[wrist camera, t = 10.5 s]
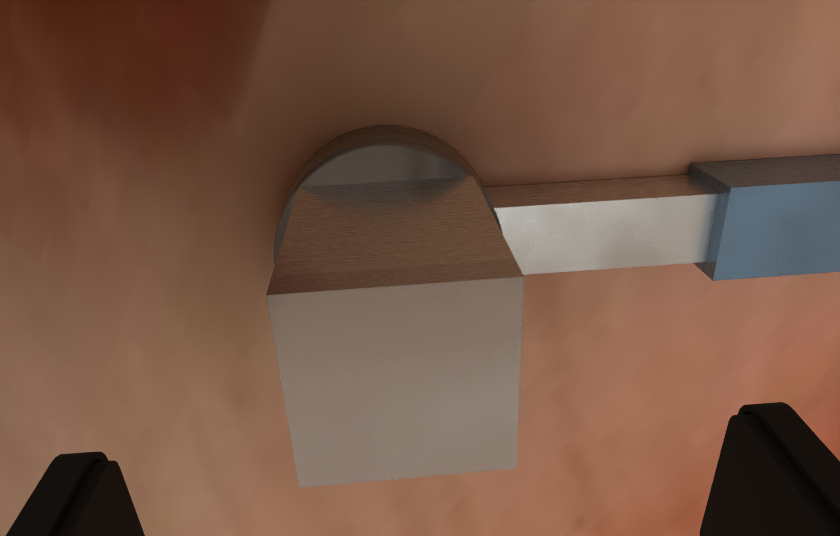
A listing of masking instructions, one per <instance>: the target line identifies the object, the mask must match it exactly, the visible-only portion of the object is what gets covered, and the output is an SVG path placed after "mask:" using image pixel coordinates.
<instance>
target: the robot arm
mask: <svg viewBox="0 0 840 536" xmlns="http://www.w3.org/2000/svg"><path fill="white" fill-rule="evenodd" d="M6 536H145V535H144V532H143V530H142V527H141V524H140V521H139V519H138V516H137V513H136V510H135V508H134V505H133V502H132V500H131V497H130V494H129V491H128V489H127V486H126V483H125V480H124V478H123V475H122V472H121V469H120V467H119V465H118V463H117V462H116V461H108V459H107V457H106V455H105V454H104V453H102V452H87V453H73V454H60V455H59V456H57V457H55V459H54V460H53V461H52V462H51V464H50V465H49V467H48V469H47V470H46V472H45V473H44V475H43V477H42V478H41V480H40V481H39V483H38V485H37V486H36V488H35V490H34V491H33V493H32V494H31V496H30V498H29V499H28V501H27V502H26V504H25V506H24V507H23V509H22V510H21V512H20V514H19V515H18V517H17V519H16V520H15V522H14V523H13V525H12V527H11V528H10V530H9V531H8V533H7V535H6ZM700 536H840V461H839V460H838V459H837V458H836V457H835V456H834V455H833V454H832V452H831V451H830V450H829V449H828V448H827V447H826V446H825V445H824V443H823V442H822V441H821V440H820V439H819V438H818V437H817V436H816V434H815V433H814V432H813V431H812V430H811V429H810V428H809V427H808V426H807V424H806V423H805V422H804V421H803V420H802V419H801V418H800V417H799V415H798V414H797V413H796V412H795V411H794V410H793V409H792V408H791V407H790V406H789V405H788V404H785V403H783V402H778V403H764V404H750V405H744V406H742V407H741V408H740V410H739V412H738V415H733V416H732V417H731V418H730V420H729V422H728V426H727V430H726V434H725V438H724V441H723V445H722V449H721V453H720V457H719V460H718V464H717V468H716V472H715V476H714V479H713V483H712V487H711V491H710V495H709V498H708V502H707V506H706V510H705V514H704V517H703V521H702V525H701V529H700Z"/></svg>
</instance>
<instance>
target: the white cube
mask: <svg viewBox="0 0 840 536" xmlns="http://www.w3.org/2000/svg"><path fill="white" fill-rule="evenodd" d="M523 292H524V275H523V273H522V271H521V269H520V268H519V266H518V264H517V262H516V260H515V258H514V256H513V254H512V252H511V250H510V248H509V246H508V244H507V242H506V240H505V238H504V236H503V234H502V232H501V230H500V228H499V226H498V224H497V222H496V220H495V218H494V216H493V214H492V212H491V210H490V208H489V206H488V204H487V202H486V200H485V198H484V196H483V194H482V192H481V190H480V188H479V186H478V184H477V182H476V180H475V179H474V177H473V176H467V177H451V178H436V179H420V180H404V181H388V182H372V183H357V184H341V185H325V186H309V187H299V189H298V192H297V195H296V199H295V202H294V205H293V208H292V212H291V215H290V218H289V222H288V225H287V228H286V231H285V235H284V238H283V241H282V245H281V248H280V251H279V255H278V258H277V261H276V264H275V268H274V271H273V274H272V278H271V281H270V284H269V287H268V291H267V294H266V298H267V303H268V309H269V315H270V321H271V326H272V332H273V338H274V344H275V349H276V355H277V361H278V367H279V373H280V378H281V384H282V390H283V396H284V401H285V407H286V413H287V419H288V425H289V430H290V436H291V442H292V448H293V453H294V459H295V465H296V471H297V476H298V482H299V488H301V487H312V486H323V485H334V484H346V483H357V482H368V481H380V480H391V479H402V478H413V477H425V476H436V475H447V474H459V473H470V472H481V471H492V470H504V469H515V468H517V445H518V419H519V394H520V369H521V343H522V318H523Z"/></svg>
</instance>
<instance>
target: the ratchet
mask: <svg viewBox="0 0 840 536" xmlns="http://www.w3.org/2000/svg"><path fill="white" fill-rule="evenodd" d="M467 176H473V177H474V179H475V180H476V182H477V184H478V186H479V188H480V190H481V192H482V194H483V196H484V198H485V200H486V202H487V204H488V206H489V208H490V210H491V212H492V214H493V216H494V218H495V220H496V222H497V224H498V226H499V228H500V230H501V232H502V234H503V236H504V238H505V240H506V242H507V244H508V246H509V248H510V250H511V252H512V254H513V256H514V258H515V260H516V262H517V264H518V266H519V268H520V269H521V271H522V273H523V275H526V274H540V273H555V272H569V271H583V270H597V269H611V268H626V267H640V266H654V265H668V264H683V263H694V264H695V265H696V266H697V267H698V268H699V269H701V270H702V271H703V272H704V273H705V274H706V275H707V276H708V277H709V278H710V279H712V280H713V281H716V280H730V279H744V278H758V277H772V276H785V275H799V274H813V273H827V272H840V154H834V155H817V156H801V157H785V158H769V159H752V160H736V161H720V162H703V163H691V166H690V172H689V175H673V176H657V177H641V178H625V179H609V180H593V181H577V182H561V183H545V184H529V185H513V186H497V187H482V185H481V183H480V181H479V179H478V177H477V175H476V173H475V172H474V170H473V169H472V167H471V166H470V165H469V163H468V162H467V161H466V160H465V159H464V158H463V156H462V155H461V154H460V153H459V152H458V151H456V150H455V149H454V148H453V147H451V146H450V145H449V144H447V143H446V142H444V141H442V140H441V139H439V138H437V137H436V136H433V135H431V134H429V133H426V132H424V131H421V130H417V129H414V128H410V127H403V126H396V125H379V126H371V127H365V128H361V129H357V130H354V131H351V132H349V133H346V134H344V135H341V136H339V137H337V138H336V139H334V140H332V141H330V142H329V143H327V144H326V145H324V146H323V147H322V148H321V149H319V150H318V151H317V152H316V153H315V154H314V155H313V156H312V157H311V158H310V159H309V160H308V161H307V162H306V163H305V165H304V166H303V167H302V169H301V170H300V172H299V173H298V175H297V177H296V179H295V181H294V182H293V185H292V187H291V190H290V193H289V195H288V198H287V201H286V204H285V207H284V210H283V213H282V216H281V219H280V222H279V225H278V228H277V233H276V238H275V244H274V263H275V264H276V261H277V258H278V255H279V251H280V248H281V245H282V241H283V238H284V235H285V231H286V228H287V225H288V222H289V218H290V215H291V212H292V208H293V205H294V202H295V199H296V195H297V192H298V189H299V187H309V186H325V185H341V184H357V183H372V182H388V181H404V180H420V179H436V178H451V177H467Z"/></svg>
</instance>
